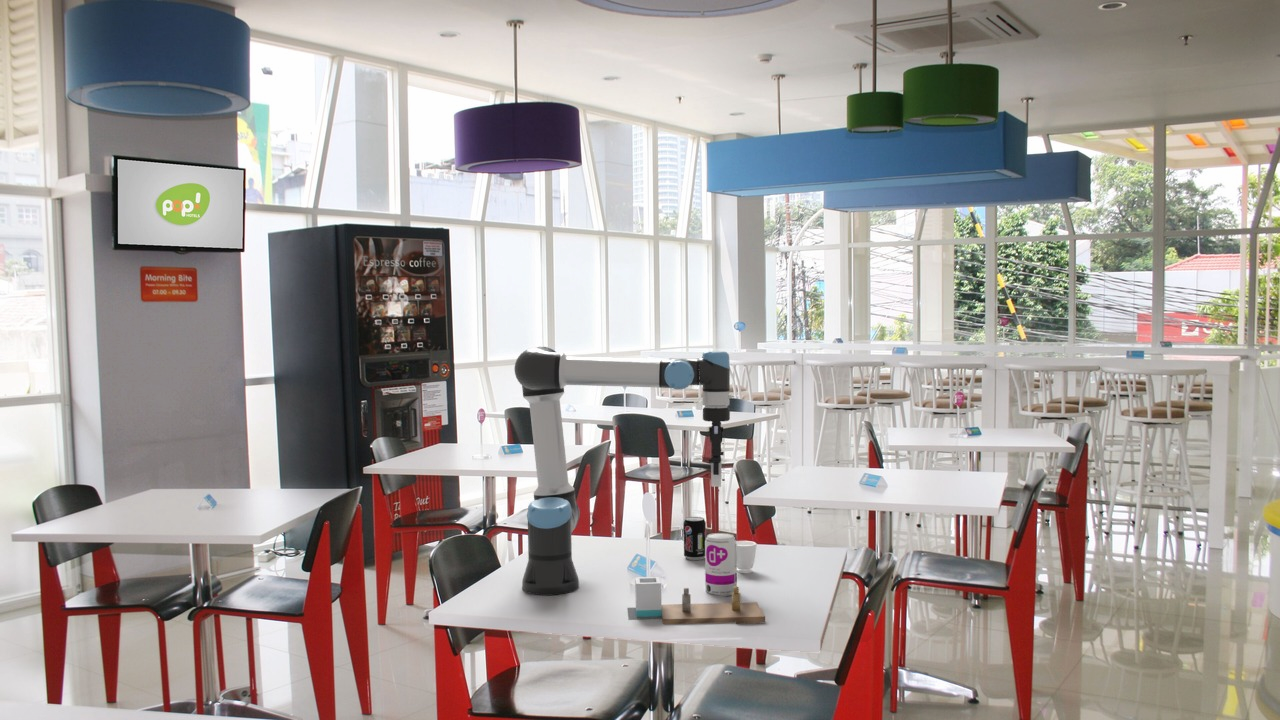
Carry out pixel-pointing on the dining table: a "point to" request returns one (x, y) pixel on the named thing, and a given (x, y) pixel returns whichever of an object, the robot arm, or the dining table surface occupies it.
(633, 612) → the mat
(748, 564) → the cup
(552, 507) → the robot arm
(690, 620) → the pinboard
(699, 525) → the beverage can
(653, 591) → the sleeve
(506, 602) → the dining table surface
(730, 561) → the supplement can
